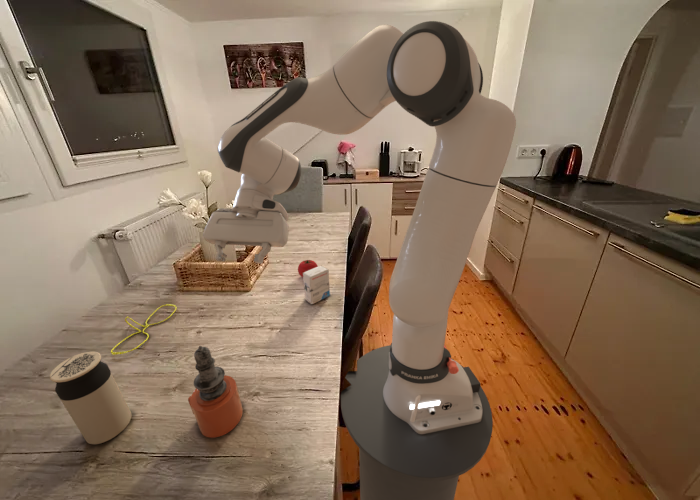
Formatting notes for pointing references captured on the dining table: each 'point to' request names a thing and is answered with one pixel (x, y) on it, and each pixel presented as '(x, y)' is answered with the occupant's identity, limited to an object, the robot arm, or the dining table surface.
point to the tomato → (306, 266)
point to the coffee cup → (217, 410)
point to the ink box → (316, 284)
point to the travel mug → (91, 397)
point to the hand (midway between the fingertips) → (238, 261)
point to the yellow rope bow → (140, 330)
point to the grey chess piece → (208, 375)
